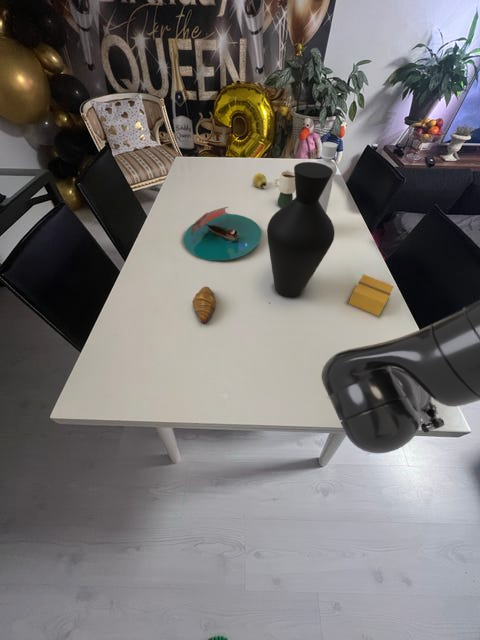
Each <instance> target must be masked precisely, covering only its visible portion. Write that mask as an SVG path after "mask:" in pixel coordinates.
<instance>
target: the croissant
mask: <svg viewBox="0 0 480 640" xmlns="http://www.w3.org/2000/svg"><path fill="white" fill-rule="evenodd" d="M191 303H192V307H193V308H194V312H195V314H196V316H197V318H198V320H199V321H200V323H201V324H206V323H208V321H209V319H210V318H211V316H212V314H213V312H214V309H215V307H216V304H217V299H216V297H215V296H214V292H213V291H212V289H211V288H210V287H209V286H203V287H201V289H200V290H199V291H198V292H197V293H195V295H194V297H193V299H192V302H191Z"/></svg>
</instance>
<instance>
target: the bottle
mask: <svg viewBox="0 0 480 640" xmlns="http://www.w3.org/2000/svg"><path fill="white" fill-rule="evenodd" d="M337 148H338V144H337V143H335V142H333V141H332V142H331V141H324V142H322V144H321V152H320V154H319V156H320V157H321V159H318V160H315V163H321V164H324V165H326V166H328V167H330V168H331V169H332V171H333V173H332V175H331V177H330V179H329V181H328V183H327V185H326V187H325V189H324V191H323V193H322V195H321V197H320V198H319V200H318V201H319V203H320V204H321V206H322V208H323V209H324V211H325V212H326V213H327V211H328V206H329V202H330V197H331V193H332V188H333V178H334V177H335V175H336V173H337V164H336V162H334V161H333V159H334V158H335V155H336V151H337Z"/></svg>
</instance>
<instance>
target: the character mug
mask: <svg viewBox="0 0 480 640" xmlns="http://www.w3.org/2000/svg"><path fill="white" fill-rule="evenodd" d="M273 187H277V188H278V191H279V195H278V198H277V201H276V202H277V203H276V204H277V206H278V207H279V208H280V209H282V208H283V207H285V206H286V205H287V204H289V203H290V202H291V201H292V200H294V195H293V194H294V193H296V188H295V174H294V170H293V171H292V170H283V171H281V172H280V173H279V177H274V181H273Z"/></svg>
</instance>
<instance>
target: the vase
mask: <svg viewBox="0 0 480 640" xmlns="http://www.w3.org/2000/svg"><path fill="white" fill-rule="evenodd" d="M315 162H316V161H315ZM315 162H313V161H304V162H300V163H297V164H295V165H294V167H293V172H294V174H295V188H296V190H295V198H293V200H292V201H291V202H290V203H289V204H287V205H286V206H285V207H283V208H279V210H277V211H276V212H275V213H274V214H273V215H272V216H271V218H270V219H269V221H268V223H267V226H266V227H267V228H266V236H267V244H268V252H269V258H270V264H271V265H270V266H271V271H272V278H273V285H274V290H275V291H276V293H277V294H278V295H279V296H281V297H283V298H286V299H293V298H297V297H299V296H301V294H302V293H303V291H304V290H305V288H306V286H307V285H308V283H309V282H310V280H311V279H312V277H313V275H314V274H315V273H316V271H317V269H318V268H319V266H320V264H321V263H322V261H323V260H324V258H325V257H326V255H327V253H328V252H329V250H330V248H331V246H332V244H333V243H334V239H335V225H334V224H333V222H332V219H331V218H330V217H329V215H328V214H327V211H326V212H325V211H324V209H323V208H322V206H321V204H320V203H319V201H318V200H319V198H320V197H321V195H322V193H323V191H324V189H325V187H326V185H327V183H328V181H329V179H330V177H331V175H332V173H333V171H332V169H331V168H330V167H328V166H326V165H324V164H321V163H315Z"/></svg>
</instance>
